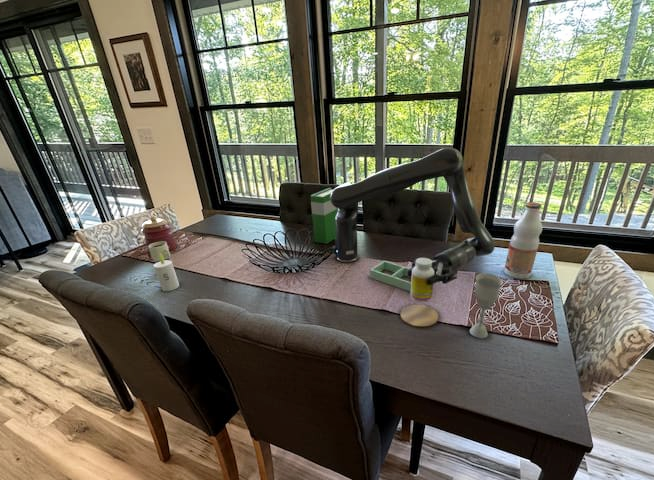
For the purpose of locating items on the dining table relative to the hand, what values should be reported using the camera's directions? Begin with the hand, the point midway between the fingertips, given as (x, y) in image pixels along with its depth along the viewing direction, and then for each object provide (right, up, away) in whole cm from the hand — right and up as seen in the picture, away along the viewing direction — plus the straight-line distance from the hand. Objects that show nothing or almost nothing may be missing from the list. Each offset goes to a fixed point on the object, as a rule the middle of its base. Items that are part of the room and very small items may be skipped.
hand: (417, 277), depth 93 cm
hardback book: (-30, +20, +74) cm, 82 cm away
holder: (-1, -1, +30) cm, 30 cm away
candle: (-92, -5, +32) cm, 97 cm away
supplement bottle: (+2, -6, +5) cm, 9 cm away
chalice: (+18, -16, 0) cm, 24 cm away
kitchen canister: (-116, +13, +68) cm, 135 cm away
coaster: (+2, -12, +8) cm, 15 cm away
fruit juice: (+46, +1, +30) cm, 55 cm away
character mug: (-101, +2, +45) cm, 110 cm away
